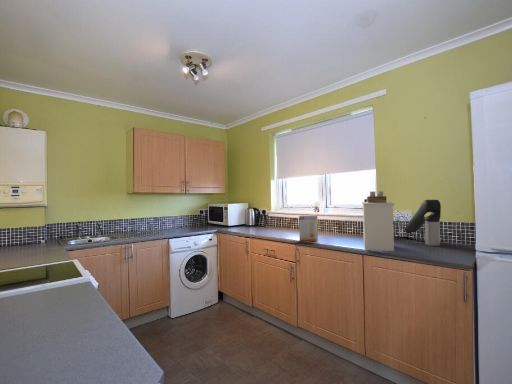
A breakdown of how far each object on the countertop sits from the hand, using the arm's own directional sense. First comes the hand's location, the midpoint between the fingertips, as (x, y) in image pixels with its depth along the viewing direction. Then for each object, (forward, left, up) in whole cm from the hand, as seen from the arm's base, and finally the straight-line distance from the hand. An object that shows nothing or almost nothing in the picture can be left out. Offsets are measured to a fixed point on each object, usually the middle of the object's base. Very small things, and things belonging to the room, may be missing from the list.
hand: (373, 197), depth 224 cm
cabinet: (+24, +14, -35) cm, 45 cm away
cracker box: (+37, -37, -35) cm, 64 cm away
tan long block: (+11, +6, -3) cm, 13 cm away
